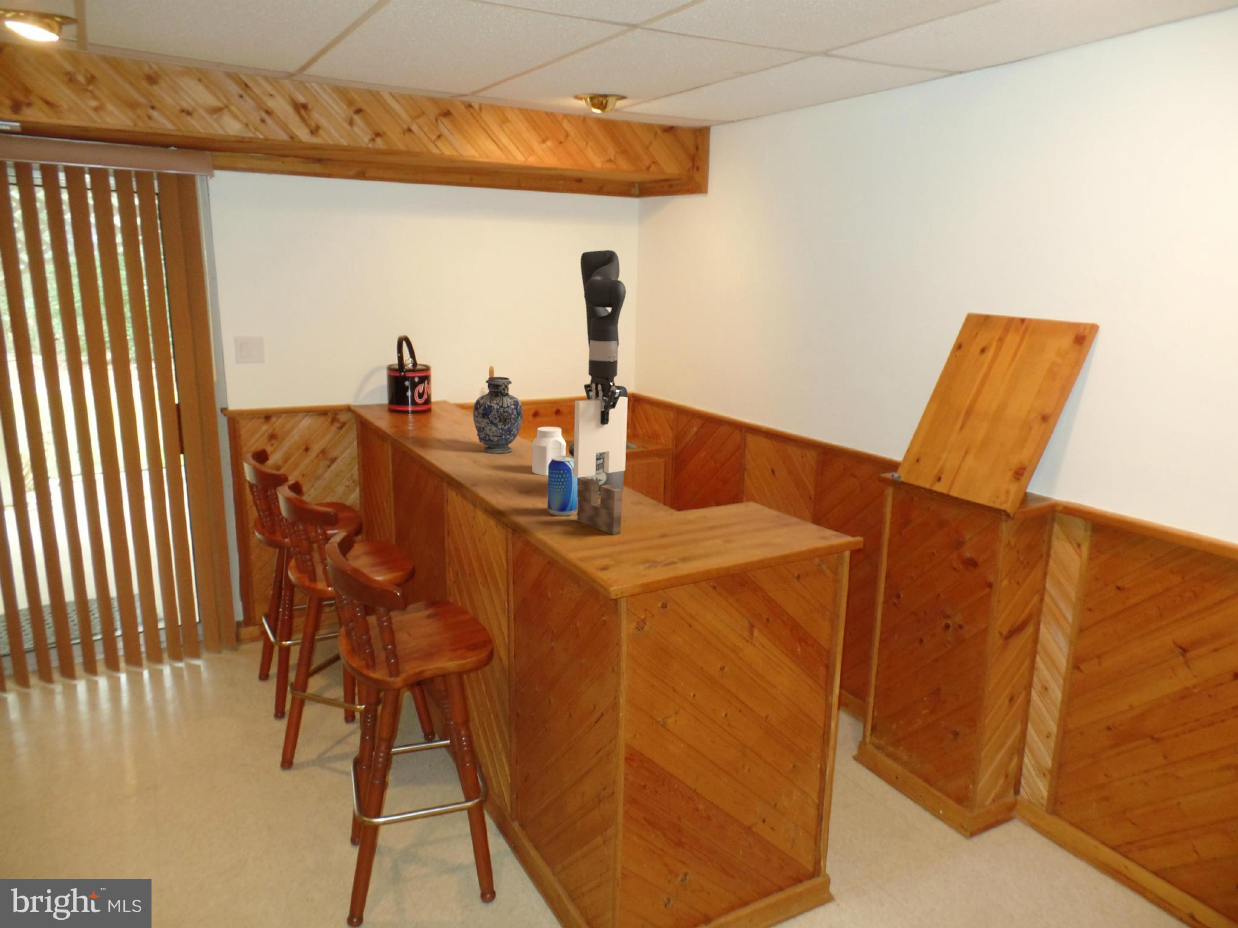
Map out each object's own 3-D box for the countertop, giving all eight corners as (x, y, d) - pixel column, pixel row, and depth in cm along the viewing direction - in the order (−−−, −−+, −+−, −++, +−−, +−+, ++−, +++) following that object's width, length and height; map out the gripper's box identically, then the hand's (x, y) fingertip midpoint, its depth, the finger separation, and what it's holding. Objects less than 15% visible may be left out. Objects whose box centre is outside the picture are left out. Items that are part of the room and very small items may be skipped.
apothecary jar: (601, 501, 256) (602, 442, 252) (562, 498, 259) (563, 440, 255) (609, 491, 268) (611, 435, 264) (572, 488, 270) (573, 433, 266)
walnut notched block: (577, 520, 236) (578, 478, 233) (584, 519, 237) (585, 477, 235) (613, 534, 224) (614, 491, 221) (620, 533, 225) (622, 489, 223)
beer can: (582, 511, 245) (583, 457, 241) (566, 518, 238) (567, 462, 234) (558, 506, 249) (559, 453, 245) (541, 513, 242) (542, 458, 238)
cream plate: (577, 477, 222) (579, 401, 217) (573, 476, 223) (575, 400, 219) (625, 470, 232) (627, 397, 227) (620, 468, 233) (622, 396, 229)
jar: (557, 467, 299) (558, 425, 296) (570, 473, 291) (570, 430, 288) (527, 470, 293) (528, 427, 290) (539, 476, 285) (539, 432, 282)
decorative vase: (466, 446, 328) (466, 374, 322) (512, 444, 336) (513, 374, 330) (481, 458, 309) (482, 381, 303) (529, 455, 317) (531, 381, 311)
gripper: (575, 356, 223) (574, 420, 227) (608, 361, 213) (606, 429, 217) (598, 355, 228) (596, 418, 232) (631, 360, 218) (628, 426, 222)
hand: (601, 423), depth 224 cm, fingers closed on cream plate, 2 cm apart
